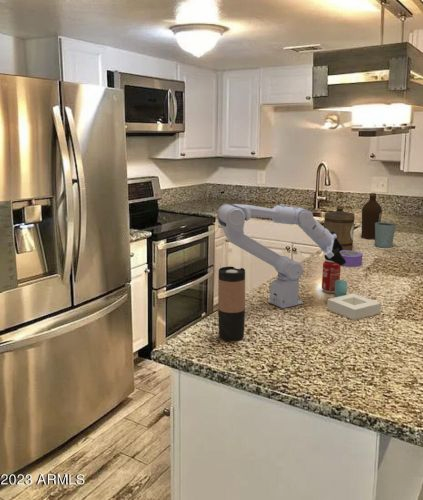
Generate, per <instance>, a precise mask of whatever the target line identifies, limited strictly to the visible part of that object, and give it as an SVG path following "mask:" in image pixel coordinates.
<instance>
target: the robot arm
mask: <svg viewBox="0 0 423 500" xmlns="http://www.w3.org/2000/svg"><path fill="white" fill-rule="evenodd" d="M216 216H217V223H218V224H219V226H220V228H221V229H222V231H223V234H224V235H225V237H226V238H227V241H228V242H230V243H231V244H232V245H235V246H236V247H238V248H240V249H242V250H243V251H245V252H247V253H249V254H251V255H252V256H254V257H256V259H257V258H258V259H259V260H261V261H262V262H265V263H266V264H268V265H270V266H272V267H274V269H275V271H276V272H277V278H276V279H274V280H272V281H271V282H270V284H269V300H268V303H270V304H272V305H275V306H276V307H278V308H281V309H285V308H290V307H294V306H298V305H303V304H304V301H302V300H299V286H300V278H301V276H302V275H303V273H304V267H303V265H302V264H301V263H300V262H298V261H296V260H294V259H291V258H290V257H288V256H286V255H281V254H279V253H277V252H275V251H274V250H271V249H270V248H269V247H266V246H265V245H263V244H262V243H260V242H258V241H256V240H255V239H253V238H251V237H249V236H248V235H246V234H244V233H245V232H244V228H245V227H244V226H245V221H246V222H247V221H249V220H250V219H251V218H264V219H265V218H266V219H271V220H272V221H273V223H277V224H284V225H298V227H299V228H300V229H301V230H302V231H303V232H304V233H305V234H306V235H307V236H308V237H309V238H310V239H311V240H312V241H313V242H314V243H315V244H316V245H317V246H318V247H319V249H321V250H322V251H323V253H324V259H326V260H328V261H333V262H335V263H337V264H339V265H341V267H343V266H342V265H343V264H345V263H346V261H345V259H344V258H343V256H342V255H341V253H340V251H341V250H343V248H342V246H341V244H340V243H339V241H338V239H337V236H336V234H335V232H334V231H333V232H331V233H330V232H329V231H328V230H327V229H326V228H324V225H322V224H321V222H319V220H317V219H316V218H315V217H314V214H313V212H312V211H310V210H309V209H306V208H302V207H298V206H297V205H294V206H293V207H292V206H286V204H284V203H280V204H279V205H275V206H274V207H272V208H269V207H263V206H258V205H257V206H256V205H251V204H240V203H239V204H238V203H233V204H230V203H224V204H222V205H221V206H220V207H219V208H218V210H217V214H216ZM332 249H334V250H332Z"/></svg>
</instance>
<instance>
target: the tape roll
mask: <svg viewBox="0 0 423 500" xmlns="http://www.w3.org/2000/svg"><path fill="white" fill-rule="evenodd" d="M340 253H341V255H342V256H343V258H344V259H345V261H346V263H345V264H343V265H342V266H341V267H344V266H345V267H346V268H357V267H361V266H362V265H363V253H362V252H360V251H356V250H352V251H350V250H342V251H340Z"/></svg>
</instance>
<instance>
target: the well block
mask: <svg viewBox="0 0 423 500" xmlns="http://www.w3.org/2000/svg"><path fill="white" fill-rule="evenodd" d="M326 303H327V304H326V310H328V311H331V312H333V313H336V314H338V315H340V316H342V317H345V318H348V319H350V320H352V321H356V320H357V321H358V320H362V319H364V318H369V317H372V316H376V315H380V314H381V309H382V302H379V301H377V300H374V299H371V298H368V297H365V296H361V295H359V294H356V293H349V294H346V295H344V296H340V297H335V298H334V297H331V298H327V302H326Z"/></svg>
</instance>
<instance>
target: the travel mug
mask: <svg viewBox="0 0 423 500" xmlns="http://www.w3.org/2000/svg"><path fill="white" fill-rule="evenodd" d="M217 278H218V284H217V286H218V287H217V288H218V289H217V290H218V291H217V294H218V297H217V300H218V302H217V311H218V312H217V314H218V315H217V317H218V336H219V337H218V338H219V339H220V340H222V341H225V342H238V341H239V342H240V341H241V340H243V339H244V335H245V319H246V318H245V316H246V314H245V313H246V269H245V268H244V267H240V268H236V267H234V266H231V265H230V266H224V267H220V268H219V269H218V277H217Z"/></svg>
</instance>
